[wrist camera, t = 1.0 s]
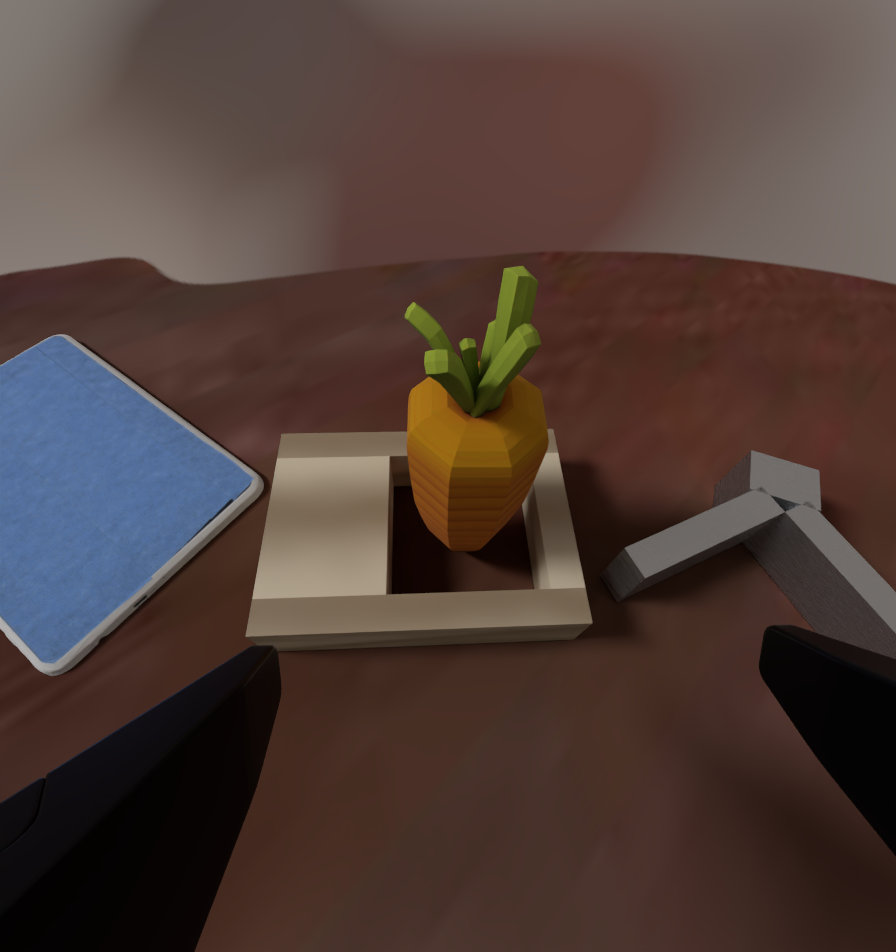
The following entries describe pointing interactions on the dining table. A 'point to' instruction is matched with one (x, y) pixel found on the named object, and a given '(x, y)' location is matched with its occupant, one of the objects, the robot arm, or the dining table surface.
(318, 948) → the dining table surface
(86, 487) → the tablet computer
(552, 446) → the socket block
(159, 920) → the robot arm
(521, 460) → the carrot
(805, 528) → the v-block
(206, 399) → the dining table surface
